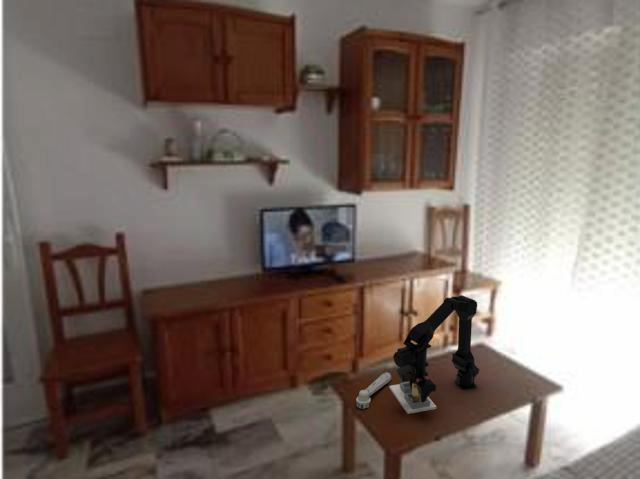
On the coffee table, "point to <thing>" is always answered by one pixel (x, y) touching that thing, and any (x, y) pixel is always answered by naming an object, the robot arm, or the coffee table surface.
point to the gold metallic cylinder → (415, 393)
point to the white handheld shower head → (372, 390)
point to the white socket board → (410, 399)
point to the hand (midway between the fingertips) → (417, 395)
